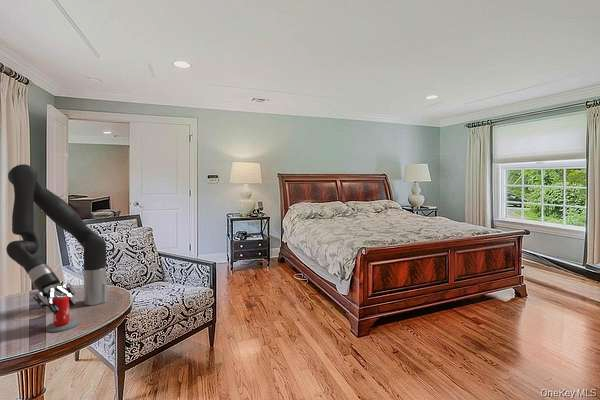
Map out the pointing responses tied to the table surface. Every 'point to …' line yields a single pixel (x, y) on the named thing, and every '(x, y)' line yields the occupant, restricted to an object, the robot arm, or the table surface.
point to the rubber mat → (70, 325)
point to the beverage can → (61, 310)
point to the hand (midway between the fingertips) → (65, 308)
